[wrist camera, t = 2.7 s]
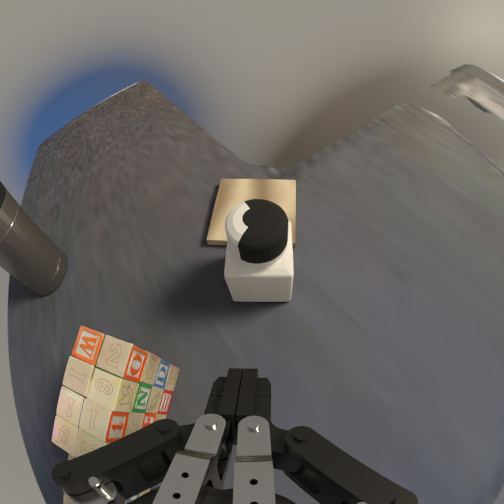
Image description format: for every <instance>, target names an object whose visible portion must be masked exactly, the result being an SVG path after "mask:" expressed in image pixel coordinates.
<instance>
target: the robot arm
mask: <svg viewBox="0 0 504 504" xmlns="http://www.w3.org/2000/svg"><path fill="white" fill-rule="evenodd" d="M0 266H1V267H2V268H3V269H5V270H6V271H7V272H8V273H10V274H11V275H12V276H13V277H15V278H16V279H17V280H18V281H20V282H21V283H22V284H24V285H25V286H26V287H28V288H29V289H30V290H32V291H33V292H35V293H36V294H37V295H40V296H45V295H48V294H50V293H51V292H53V291H54V290H55V289H56V288H57V286H58V285H59V284H60V282H61V281H62V279H63V277H64V274H65V271H66V266H67V260H66V256H65V254H64V253H63V252H62V251H61V250H60V249H59V248H58V247H57V246H56V245H55V244H54V243H53V242H52V240H51V239H50V238H49V237H48V236H47V235H46V234H45V233H44V232H43V231H42V230H41V229H40V228H39V227H38V225H37V224H36V223H35V222H34V221H33V220H32V219H31V218H30V217H29V215H28V214H27V213H26V212H25V211H24V210H23V208H22V207H21V206H20V205H19V204H18V203H17V202H16V200H15V199H14V198H13V197H12V195H11V194H10V193H9V192H8V190H7V189H6V188H5V187H4V186H3V184H2V183H1V182H0ZM233 444H236V445H237V457H236V458H235V468H234V488H233V489H225V490H223V485H224V481H225V477H226V474H227V470H228V467H229V463H230V460H231V451H232V446H233ZM273 468H275V469H279V470H283V471H284V473H285V474H286V475H287V476H288V477H289V478H290V479H291V480H292V481H294V482H295V483H296V484H297V485H298V486H299V487H300V488H302V489H303V490H304V491H305V492H306V493H308V494H309V495H310V496H311V497H313V498H314V499H315V500H316V501H318V502H319V503H320V504H418V499H417V497H416V496H415V494H414V493H412V492H410V491H408V490H407V489H405V488H403V487H401V486H399V485H397V484H396V483H394V482H392V481H390V480H389V479H387V478H385V477H384V476H382V475H380V474H379V473H377V472H375V471H374V470H372V469H370V468H369V467H367V466H366V465H364V464H362V463H361V462H359V461H358V460H356V459H355V458H353V457H352V456H350V455H349V454H347V453H346V452H344V451H343V450H341V449H340V448H338V447H337V446H335V445H334V444H332V443H331V442H330V441H328V440H327V439H325V438H324V437H323V436H321V435H320V434H318V433H317V432H316V431H314V430H313V429H311V428H309V427H305V426H298V427H294V428H292V429H290V430H289V431H287V430H283V429H279V428H277V427H276V426H274V425H273V424H272V422H271V383H270V382H269V380H268V378H258V369H239V368H229V370H228V374H227V377H219V378H218V379H217V380H216V381H215V382H214V383H213V386H212V391H211V393H210V396H209V400H208V403H207V406H206V410H205V413H204V415H203V416H201V417H200V418H198V420H197V421H196V423H194V424H190V425H183V426H178V424H177V423H176V422H175V421H173V420H170V419H160V420H157V421H155V422H153V423H151V424H149V425H147V426H145V427H143V428H141V429H139V430H137V431H135V432H133V433H131V434H129V435H127V436H125V437H123V438H121V439H118V440H116V441H114V442H112V443H110V444H107V445H105V446H103V447H100V448H98V449H96V450H93V451H91V452H88V453H86V454H83V455H81V456H78V457H76V458H73V459H71V460H68V461H65V462H62V463H60V464H58V465H56V466H55V467H54V468H53V470H52V478H53V480H54V481H55V482H56V483H57V484H58V485H59V486H60V487H61V488H62V490H63V491H64V492H65V493H66V494H67V495H68V496H69V497H70V499H71V501H72V503H73V504H125V500H127V499H129V498H131V497H133V496H135V495H137V494H139V493H141V492H143V491H145V490H147V489H149V488H151V487H153V486H155V485H157V484H158V483H160V482H162V481H163V482H162V484H161V486H160V487H157V488H155V489H153V490H151V491H149V492H147V493H145V494H144V495H142V496H140V497H138V498H136V499H134V500H133V501H131V502H129V503H127V504H295V503H294V502H292V501H291V500H289V499H287V498H286V497H283V496H281V495H278V494H275V489H274V475H273Z"/></svg>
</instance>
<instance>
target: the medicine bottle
mask: <svg viewBox="0 0 504 504" xmlns="http://www.w3.org/2000/svg"><path fill="white" fill-rule="evenodd" d="M225 231H226V235H227V248H226V258H225V268H224V277H225V280H226V283H227V285H228V288H229V291H230V293H231V296H232V299H233V300H234V301H236V302H288V301H290V300H291V294H292V285H293V275H294V272H293V247H292V227H291V222H290V221H288V217H287V215H286V213H285V211H284V210H283V209H282V208H281V207H280V206H279V205H277V204H276V203H274V202H271V201H268V200H264V199H251V200H247V201H244V202H242V203H240V204H238V205H237V206H235V207H234V208H233V209H232V210H231V211H230V212H229V214H228V216H227V217H226V220H225Z"/></svg>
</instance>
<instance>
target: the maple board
mask: <svg viewBox="0 0 504 504" xmlns="http://www.w3.org/2000/svg"><path fill="white" fill-rule="evenodd" d="M251 199H264V200H268V201H271V202H274V203H276V204H277V205H279V206H280V207H281V208H282V209H283V210H284V211H285V213H286V215H287V217H288V221H290V222H291V227H292V247H293V248H295V215H296V180H274V179H221V182H220V186H219V189H218V193H217V197H216V202H215V206H214V210H213V214H212V218H211V222H210V227H209V231H208V235H207V243H208V245H227V235H226V231H225V220H226V217H227V216H228V214H229V212H230V211H231V210H232V209H233V208H234V207H235V206H237V205H238V204H240V203H242V202H244V201H247V200H251Z"/></svg>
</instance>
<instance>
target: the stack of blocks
mask: <svg viewBox="0 0 504 504" xmlns="http://www.w3.org/2000/svg"><path fill="white" fill-rule="evenodd" d="M178 373H179V368H177V367H175V366H173V365H171V364H169V363H167V362H165V361H163V360H162V359H160V358H159V357H157V356H155V355H154V354H152V353H150V352H148V351H145V350H142V349H140V348H138V347H137V346H135V345H133V344H131V343H128V342H125V341H122V340H119V339H116V338H114V337H111V336H108V335H104V334H102V333H100V332H97V331H95V330H92V329H90V328H87V327H84V326H81V327H80V330H79V333H78V336H77V339H76V342H75V345H74V348H73V351H72V356H70V357H69V360H68V364H67V367H66V371H65V375H64V379H63V383H62V384H63V386H62V387H61V391H60V395H59V399H58V405H57V410H56V414H57V415H56V417H55V422H54V428H53V434H52V442H53V443H54V444H56V445H57V446H59V447H60V448H62V449H63V450H65V451H66V452H68V453H69V455H68V460H71V459H73V458H76V457H78V456H81V455H83V454H86V453H88V452H91V451H93V450H96V449H98V448H100V447H103V446H105V445H107V444H110V443H112V442H114V441H116V440H118V439H121V438H123V437H125V436H127V435H129V434H131V433H133V432H135V431H137V430H139V429H141V428H143V427H145V426H147V425H149V424H151V423H153V422H155V421H157V420H160V419H165V418H166V415H167V413H168V409H169V405H170V401H171V398H172V394H173V390H174V387H175V384H176V380H177V376H178ZM149 490H150V488H149V489H147V490H145V491H143V492H141V493H139V494H137V495H135V496H133V497H131V498H129V499H127V500H125V504H127V503H129V502H131V501H133V500H134V499H136V498H138V497H140V496H142V495H144V494H145V493H147V492H149ZM63 504H73V503H72V501H71V499H70V497H69V496H68V495H67V494H66V493H65V492H64V497H63Z"/></svg>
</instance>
